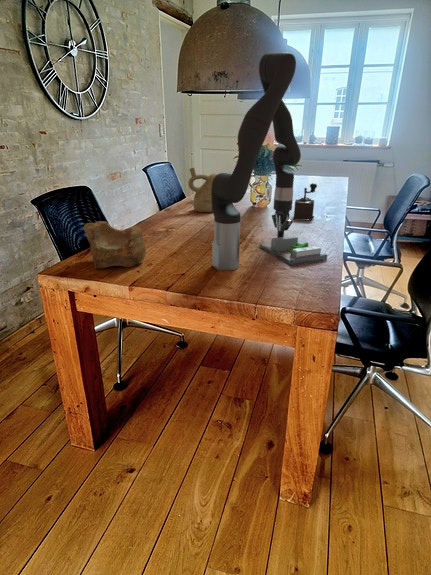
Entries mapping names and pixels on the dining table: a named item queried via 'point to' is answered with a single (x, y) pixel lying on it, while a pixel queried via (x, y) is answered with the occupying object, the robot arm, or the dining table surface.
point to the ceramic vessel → (202, 192)
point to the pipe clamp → (298, 246)
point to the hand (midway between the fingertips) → (280, 239)
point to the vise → (299, 255)
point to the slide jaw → (283, 243)
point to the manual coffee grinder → (305, 205)
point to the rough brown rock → (115, 245)
